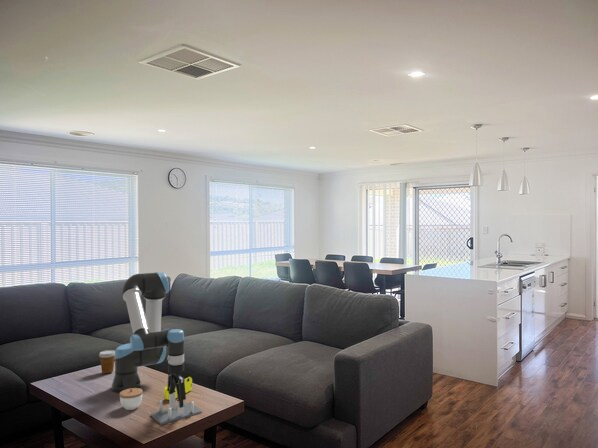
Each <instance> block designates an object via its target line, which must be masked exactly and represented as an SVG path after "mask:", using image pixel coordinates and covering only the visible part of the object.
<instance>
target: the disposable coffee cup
mask: <svg viewBox="0 0 598 448" xmlns="http://www.w3.org/2000/svg"><path fill="white" fill-rule="evenodd" d="M98 356H99V360H100V361H99V362H100V367H101V368H100V369H101V373H102V374H110V373H113V372H114V369H115V350H114V349H108V350H107V349H105V350H103V351H100V352H99V354H98Z"/></svg>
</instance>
